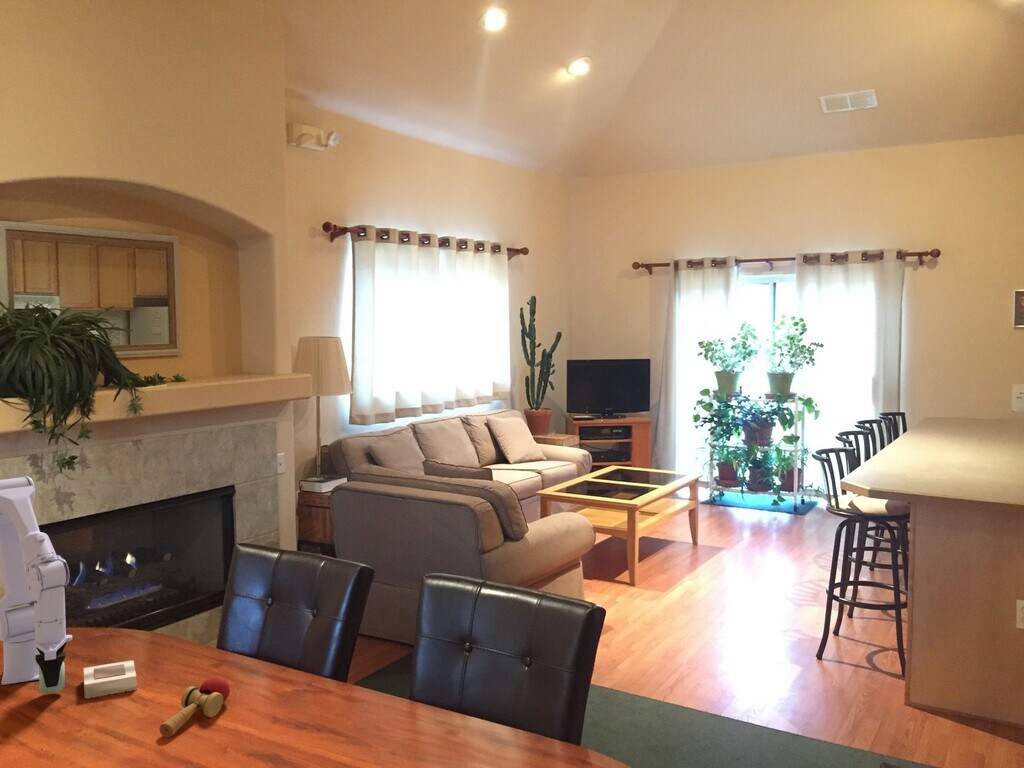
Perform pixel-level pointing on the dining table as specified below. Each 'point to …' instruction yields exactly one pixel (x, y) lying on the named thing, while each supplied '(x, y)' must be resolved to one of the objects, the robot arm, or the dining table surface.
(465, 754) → the dining table surface
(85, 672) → the birch base
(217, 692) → the kendama
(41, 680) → the pale green rounded cylinder
